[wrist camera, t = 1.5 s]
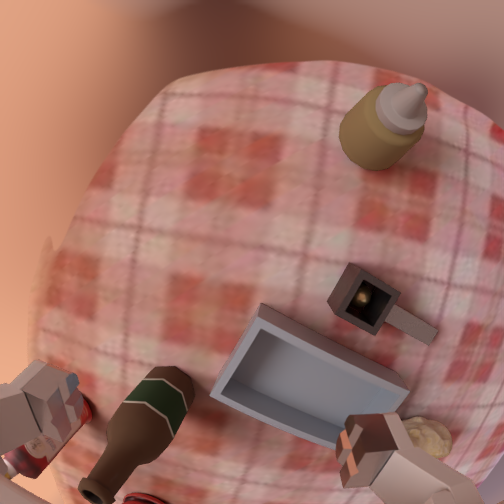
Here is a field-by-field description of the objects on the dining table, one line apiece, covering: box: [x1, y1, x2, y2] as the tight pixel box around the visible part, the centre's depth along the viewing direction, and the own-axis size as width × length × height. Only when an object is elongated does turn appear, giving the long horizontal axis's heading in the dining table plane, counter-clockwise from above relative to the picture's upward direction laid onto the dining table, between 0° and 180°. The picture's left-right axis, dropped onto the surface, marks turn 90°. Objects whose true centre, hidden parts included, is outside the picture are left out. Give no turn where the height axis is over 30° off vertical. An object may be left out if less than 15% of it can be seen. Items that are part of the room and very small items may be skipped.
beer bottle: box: [78, 366, 195, 504], centre depth 29 cm, size 8×8×24 cm
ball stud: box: [350, 281, 371, 307], centre depth 36 cm, size 3×3×3 cm
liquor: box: [3, 398, 92, 480], centre depth 29 cm, size 7×7×28 cm
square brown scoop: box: [327, 263, 438, 346], centre depth 34 cm, size 16×6×6 cm, turn 62°
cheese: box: [402, 416, 452, 458], centre depth 35 cm, size 15×7×15 cm
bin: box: [209, 303, 410, 450], centre depth 36 cm, size 22×12×6 cm, turn 62°
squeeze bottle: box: [339, 83, 428, 171], centre depth 27 cm, size 8×8×18 cm
